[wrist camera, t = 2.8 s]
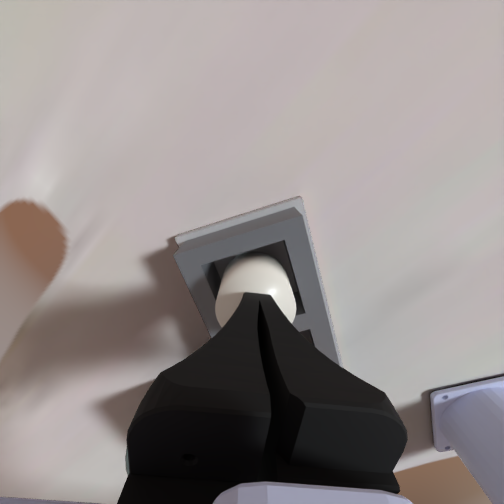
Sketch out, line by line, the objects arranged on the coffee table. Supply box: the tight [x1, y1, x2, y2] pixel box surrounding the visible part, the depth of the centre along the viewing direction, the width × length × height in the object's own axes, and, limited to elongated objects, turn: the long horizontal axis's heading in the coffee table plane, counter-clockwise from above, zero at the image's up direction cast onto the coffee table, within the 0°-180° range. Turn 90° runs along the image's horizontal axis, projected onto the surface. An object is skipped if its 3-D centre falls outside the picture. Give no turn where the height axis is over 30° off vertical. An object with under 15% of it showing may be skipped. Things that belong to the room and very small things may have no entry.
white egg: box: [215, 251, 296, 327], centre depth 13 cm, size 4×4×3 cm
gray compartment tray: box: [173, 196, 343, 368], centre depth 17 cm, size 8×20×3 cm, turn 18°
